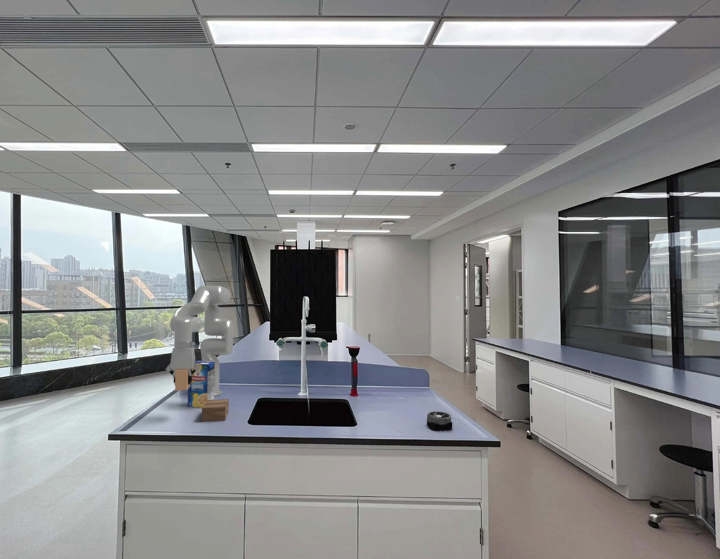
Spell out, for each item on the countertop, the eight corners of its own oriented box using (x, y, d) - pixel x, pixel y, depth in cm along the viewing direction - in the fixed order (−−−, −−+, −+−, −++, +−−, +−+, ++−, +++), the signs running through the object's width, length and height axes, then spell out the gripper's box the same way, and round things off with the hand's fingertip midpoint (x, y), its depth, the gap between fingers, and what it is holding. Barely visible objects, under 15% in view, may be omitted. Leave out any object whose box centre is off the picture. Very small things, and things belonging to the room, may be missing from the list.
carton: (178, 386, 189) (179, 367, 189) (190, 386, 190) (190, 367, 190) (175, 390, 182) (175, 370, 182) (186, 390, 183) (187, 370, 183)
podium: (207, 412, 194) (207, 400, 194) (228, 411, 196) (228, 399, 196) (201, 421, 180) (202, 408, 180) (224, 420, 182) (225, 407, 182)
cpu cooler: (424, 411, 181) (446, 410, 182) (424, 424, 181) (446, 423, 182) (431, 418, 170) (454, 417, 172) (431, 432, 170) (454, 431, 172)
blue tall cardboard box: (207, 408, 201) (207, 364, 202) (187, 406, 203) (188, 363, 204) (214, 404, 208) (215, 361, 208) (195, 402, 210) (196, 360, 210)
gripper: (204, 343, 191) (203, 381, 191) (165, 344, 188) (165, 383, 188) (201, 346, 184) (200, 385, 184) (161, 347, 180) (160, 387, 180)
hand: (182, 383), depth 186 cm, fingers closed on carton, 5 cm apart
